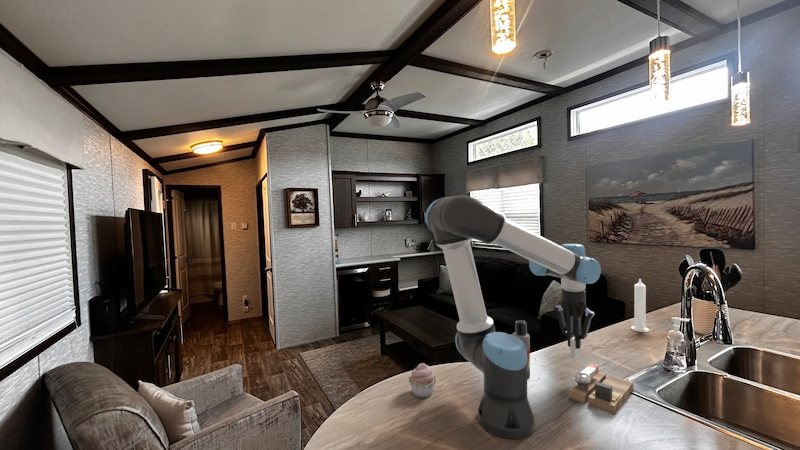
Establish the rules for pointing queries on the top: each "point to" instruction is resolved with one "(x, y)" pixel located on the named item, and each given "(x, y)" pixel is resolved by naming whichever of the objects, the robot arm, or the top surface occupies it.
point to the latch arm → (586, 374)
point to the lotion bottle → (523, 339)
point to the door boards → (603, 392)
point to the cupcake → (422, 381)
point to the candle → (640, 308)
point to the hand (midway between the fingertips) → (574, 356)
